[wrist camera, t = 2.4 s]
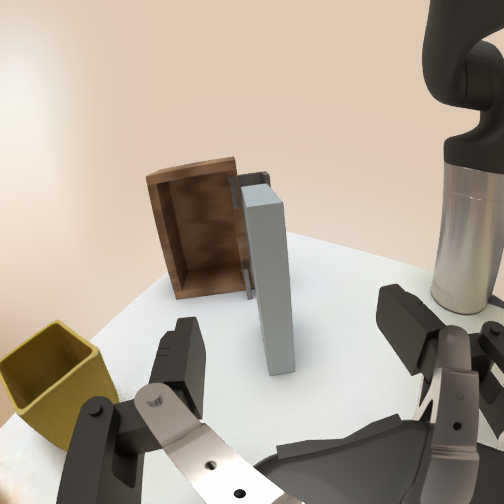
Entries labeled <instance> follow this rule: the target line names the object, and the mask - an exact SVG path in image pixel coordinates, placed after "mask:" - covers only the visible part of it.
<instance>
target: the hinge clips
mask: <svg viewBox="0 0 504 504" xmlns="http://www.w3.org/2000/svg"><path fill="white" fill-rule="evenodd" d="M237 177H238V184H239V191H240V198H241V205H242V213H243V219H244V226H245V233H246V240H247V247H248V254H249V261H250V262H249V263H250V267H249V268H251V275H252V282H253V283H252V284H253V288H254V289H255V282H254V275H253V268H252V261H251V253H250V246H249V239H248V232H247V225H246V218H245V211H244V204H243V197H242V190H241V187H245V186H252V185H259V184H268V185H269V187H270V188H271V185H270V176H269V174H268V173H267V172H266V171H264V172H256V173H249V174H242V175H237ZM229 181H230V188H231V195H232V202H233V208H234V209H236V208H239V207H238V200H237V193H236V186H235V179H234V176H232V177H229ZM236 212H237V211H236ZM239 213H240V212H239ZM236 219H237V218H236ZM237 226H238V225H237ZM237 228H238V227H237ZM239 232H240V231H239ZM238 235H239V234H238ZM239 242H241V241H239ZM245 247H246V246H245ZM244 251H245V250H244ZM241 253H242V252H241ZM242 265H243V272H244V279H245V285H246V291H247V297H248V299H252V294H251V287H252V286H251V285H250V283H251V282H250V281H249V280H250V279H249V274H248V267H247V261H243V262H242ZM250 286H251V287H250Z"/></svg>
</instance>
